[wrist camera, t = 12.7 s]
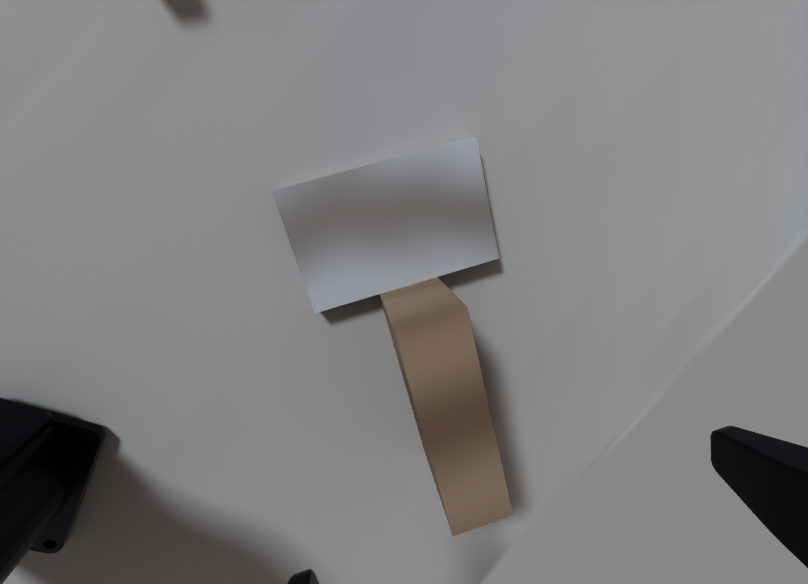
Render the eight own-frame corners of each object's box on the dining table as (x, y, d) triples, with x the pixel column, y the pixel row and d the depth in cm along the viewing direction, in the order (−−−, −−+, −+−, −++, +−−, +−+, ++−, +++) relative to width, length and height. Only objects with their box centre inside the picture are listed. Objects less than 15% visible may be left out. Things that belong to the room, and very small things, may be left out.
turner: (523, 420, 21) (577, 491, 17) (372, 471, 21) (384, 559, 16) (468, 137, 17) (520, 125, 12) (275, 190, 16) (253, 198, 12)
